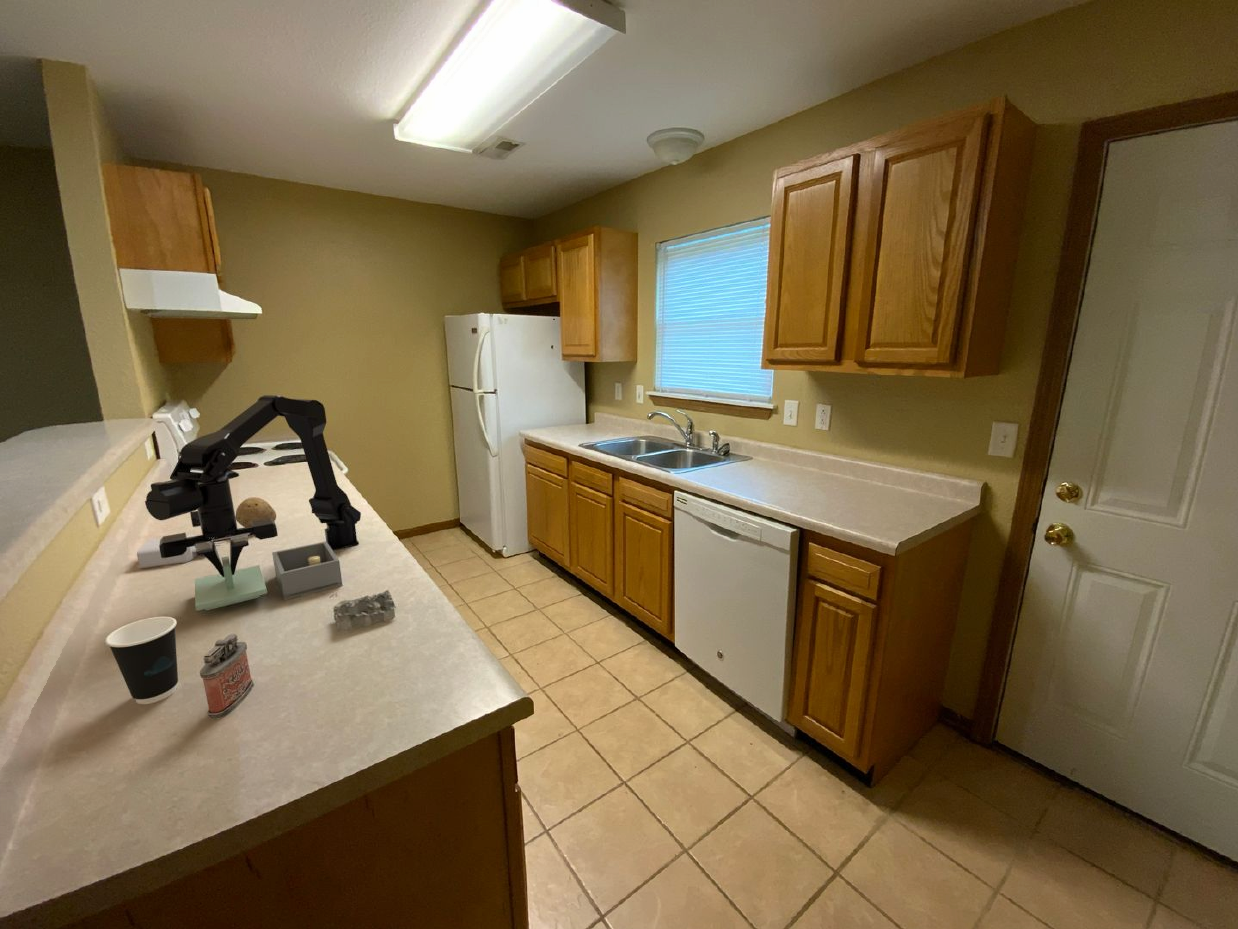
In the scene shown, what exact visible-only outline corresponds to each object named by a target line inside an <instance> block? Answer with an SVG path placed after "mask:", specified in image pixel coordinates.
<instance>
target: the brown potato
mask: <svg viewBox="0 0 1238 929" xmlns="http://www.w3.org/2000/svg"><path fill="white" fill-rule="evenodd" d="M235 517H236V523H238V524H239V525H240V526H242V528H244V527H250V526H252V522H251V521H255V520H261V519H267V518H271V519H273V520H274V522H275V521H276V519H277V513H276V511H275V509H274V508H273V507H272V506H271V504H270V503H269V502H268V501H267V500H265V499H262V498H260V497H257V496H256V497H255V496H250V497H248V498H246V499H244V500H243V501H242V502H241V503H239V505H238V507H237V508H236V511H235Z"/></svg>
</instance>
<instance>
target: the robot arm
mask: <svg viewBox="0 0 1238 929" xmlns="http://www.w3.org/2000/svg"><path fill="white" fill-rule="evenodd" d="M277 417H282V418H284V419H285V421H286V423H287V425H288V427H289V428H290V429H291V430H292V431H293V432H294V433H295V434H296V435H297V436H298V437H299V439H300V442H301V445H302V449H303V453H304V456H305V458H306V462H307V466H308V469H309V473H310V475H311V478H312V482H313V485H314V489H315V492H314V494H313V496H312V498H309V500H308V502H309V505H310V507H311V508H310V509H311V514H314V516H315V517H316V518H317V519H318V521H319V523H320V524H326V528H325V529H324V536H325V541H327V543H328V544H329V546H330V547H331V549H332V550H333V551H334V550H339V549H342V548H348V547H353V546H357V545H359V544H360V542H359V541H358V538H357V528H356V524H358V522H360V521H361V516H362V512H361V511H359V510H357V508H355V506H353V505H352V503H351V500H350V499H349V497H348V494H347V493H346V492H345V491H344V490H343V489H342V488H341V487H340V486H339V485H338V483H337V478H336V476H335V471H334V469H333V465H332V462H331V458H330V454H329V450H328V447H327V444H326V441H325V436H324V431H325V428H326V425H327V416H326V409H325V406H324V404H323V402H321V401H318V400H316V399H303V398H302V399H301V398H290V397H285V396H283V395H277V394H275V395H273V394H264V395H262V396H260V397H259V398H258V399H257V401H256V402H255V403H253V404H252V405H250V406H249V407H247V408H246V410H244V411H243V412H242V413H240V414H239V415H237V416H236V417H235V418H233V419H232V420H230V422H228V423H227V424H225V425H224V426H223V427H221V428H220V429H218V430H216V431H214V432H212V433H208V434H205V435H203V436H199V437H198V438H196V439H193V440H191V441H190V442H187V443H186V444H184V445H183V447H182V448H181V449H180V453H181V454H180V457H179V458H178V460H177V463H176V464H175V466H174V468H173V470H172V472H171V474H170V476H169V480H167V481H159V482H154V483H151V484H150V488H151V490H150V491H149V492H148V493H147V495H146V497H145V498H146V500H145V501H144V503H145V507H146V510H147V512H148V513H149V514H150V516H151V517H153V518H154V519H156V520H158V521H166V520H169V519H172V518H176V517H178V516H181V515H185V514H188V513H190V514H189V515H190V520H191V524H192V525H191V526H192V527H193V528H198V527H200V528H201V530H200V531H201V534H199V535H195V536H193V537H188V538H187V537H186V535H187V534H186V532H181V533H176V534H169V535H165V536H162V537H161V538H162V539H161V538H160V539H161V540H160V545H159V548H160V553H161V558H169V557H174V556H179V555H183V554H184V553H185V552H186V551H187V547H192V546H195V548H196V556H204V557H205V559H207V560H208V561H209V562H210V563H211V564H212V565H213V566H214V568H215V570H217V572H218V574H221V576H222V577H225V576H224V571H223V565H222V559H221V558H220V555H219V553H218V550H217V546H215V545H216V544H215V543H217V542H223V541H228V540H229V561H230V567H231V572H232V575H234V573H235V570H237V566H238V561H239V558H240V555H241V554H242V551H243V549H244V548H245V547H248V546H249V545H250V544H249V536H254V537H255V538H256V539H258V540H261V541H262V540H266V539H272V538H275V537H278V530H277V525H276V522H275V521H274V520H273V519H271V518H267V519H261V520H255V521H251V522H252V526H250V527H238V524H237V523H238V522H237V520H236V511H235V506H234V502H233V497H232V491H231V485H230V480H231V479H235V478H238V477H239V476H240V474H239V472H236V471H234V470H232V469H231V468H230V466H231V464H232V463H234V461H235V460H236V459H237V457H238V456H239V453H240V450H241V448H242V447H243V445H244V444H246V442H248V441H249V440H251V438H253V437H254V436H256V434H257V433H259V432H260V431H262V429H264V428H265V427H267V425H269V424H270V423H271V422H272V421H274V420H275V419H276V418H277ZM197 471H198V472H197ZM199 471H200V472H199Z"/></svg>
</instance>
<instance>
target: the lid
mask: <svg viewBox="0 0 1238 929" xmlns="http://www.w3.org/2000/svg"><path fill="white" fill-rule="evenodd" d="M221 563H222V566H223V571H224V576H225V577H222V576H221V574H220V573H216V574H212V575H207V576H204V577H203V576H202V577H198V578H194V601H195V603H194V605H195V606H194V607H195V611H196V612H197V611H201V610H205V611H209V610H213V609H217V608H222V607H225V606H230V605H234V604H239V603H242V602H246V601H250V600H253V599H257V598H260V597H261V596H262V595H266V594H268V590H267V587H266V583H265V579H264V576H263V573H262V569H261V566H260V565H253V566H249V567H245V568H239V569H235V573H234V575H232V572H231V567H230V555H229V556H223V557H221Z"/></svg>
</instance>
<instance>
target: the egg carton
mask: <svg viewBox="0 0 1238 929" xmlns="http://www.w3.org/2000/svg"><path fill="white" fill-rule="evenodd" d="M381 607H384V608H385V610H381ZM395 609H396V605H395V601H394V600H393V597H392V595H391V593H390V591H389V589H387V590H385V591H383V592H379V593H378V594H372V596H370V595H365V596H363V597H358V598H355V599H348V600H347V599H346V600H345V599H344V600H341V601H339V602H338V603H337V604H336V605H334V606H333V608H332V610H333V613H334V614H333V620H334V621H335V624H336V628H337V632H346V633H348V632H352V631H353V629H355V628H357V627H361V626H363V627H369V626H372V625H373V623H375V622H380V621H381V622H384V623H385V622H389V621H391V619H392V618H393V617H396V613H395ZM366 612H367V613H366Z"/></svg>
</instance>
